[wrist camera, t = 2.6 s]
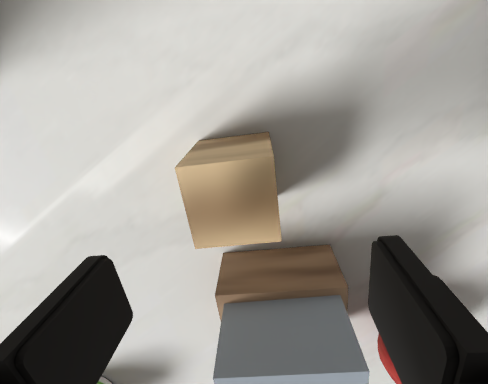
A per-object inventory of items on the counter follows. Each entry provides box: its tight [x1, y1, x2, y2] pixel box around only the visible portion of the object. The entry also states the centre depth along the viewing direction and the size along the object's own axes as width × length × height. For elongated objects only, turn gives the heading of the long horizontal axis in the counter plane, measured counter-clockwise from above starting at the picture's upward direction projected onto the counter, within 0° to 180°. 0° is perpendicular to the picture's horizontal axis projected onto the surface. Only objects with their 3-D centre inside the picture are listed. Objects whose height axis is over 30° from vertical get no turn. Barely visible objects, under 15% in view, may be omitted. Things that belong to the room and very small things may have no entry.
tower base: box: [215, 245, 348, 320], centre depth 22 cm, size 9×9×5 cm
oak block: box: [175, 132, 281, 249], centre depth 17 cm, size 5×5×6 cm
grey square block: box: [213, 295, 369, 384], centre depth 17 cm, size 8×8×5 cm
